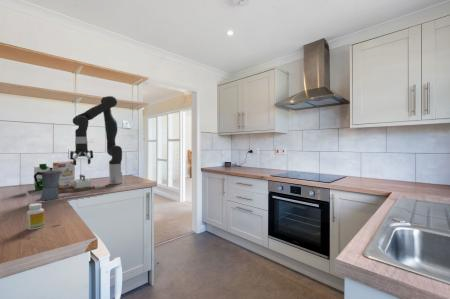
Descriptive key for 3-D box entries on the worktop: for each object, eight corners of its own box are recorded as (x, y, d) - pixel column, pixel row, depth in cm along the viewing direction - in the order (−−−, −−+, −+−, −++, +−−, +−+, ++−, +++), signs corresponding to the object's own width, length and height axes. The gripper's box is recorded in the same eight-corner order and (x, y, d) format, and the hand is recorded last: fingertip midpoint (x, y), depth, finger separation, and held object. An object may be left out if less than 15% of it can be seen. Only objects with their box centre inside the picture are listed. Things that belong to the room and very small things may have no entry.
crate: (87, 186, 168) (87, 173, 168) (91, 188, 161) (91, 175, 161) (73, 188, 162) (73, 174, 161) (77, 190, 154) (76, 176, 154)
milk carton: (36, 192, 155) (36, 164, 154) (33, 190, 160) (32, 164, 159) (52, 190, 162) (51, 163, 161) (47, 188, 167) (47, 163, 166)
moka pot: (67, 197, 140) (66, 166, 140) (40, 203, 126) (39, 169, 125) (57, 196, 143) (56, 166, 143) (29, 202, 129) (28, 168, 128)
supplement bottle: (47, 225, 92) (47, 202, 92) (34, 230, 87) (34, 206, 86) (37, 224, 93) (36, 202, 92) (23, 229, 87) (23, 206, 87)
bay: (90, 187, 171) (89, 176, 170) (95, 190, 161) (94, 178, 161) (53, 192, 154) (53, 180, 154) (56, 195, 145) (56, 182, 145)
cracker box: (59, 190, 161) (58, 162, 161) (52, 190, 162) (51, 162, 162) (75, 186, 175) (75, 161, 174) (69, 186, 176) (68, 160, 176)
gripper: (90, 142, 168) (91, 163, 168) (68, 143, 158) (69, 165, 158) (93, 142, 163) (94, 164, 163) (70, 143, 152) (71, 165, 153)
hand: (82, 164), depth 161 cm, fingers open, 8 cm apart
